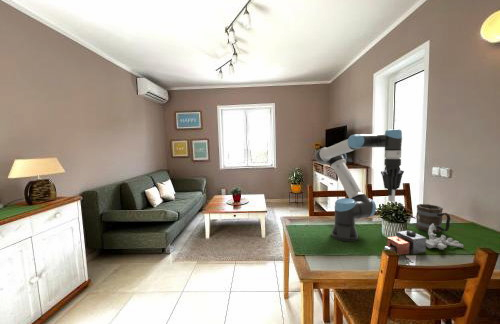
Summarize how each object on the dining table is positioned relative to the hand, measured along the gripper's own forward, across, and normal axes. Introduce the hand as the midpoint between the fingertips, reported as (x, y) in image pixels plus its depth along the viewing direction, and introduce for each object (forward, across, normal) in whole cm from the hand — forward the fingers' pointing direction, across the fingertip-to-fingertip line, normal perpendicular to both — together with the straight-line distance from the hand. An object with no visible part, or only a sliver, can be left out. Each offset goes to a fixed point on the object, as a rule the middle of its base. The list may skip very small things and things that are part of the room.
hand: (391, 201), depth 120 cm
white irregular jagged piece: (+27, +28, -4) cm, 39 cm away
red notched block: (+27, +1, -4) cm, 27 cm away
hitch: (+26, +3, -4) cm, 27 cm away
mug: (+27, +45, +12) cm, 54 cm away
